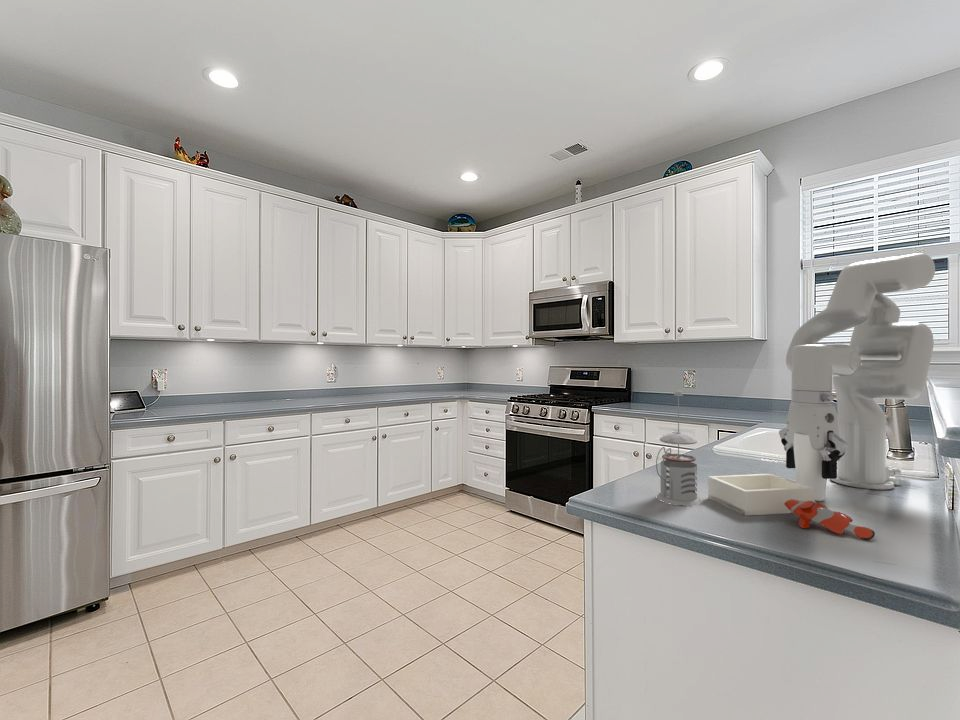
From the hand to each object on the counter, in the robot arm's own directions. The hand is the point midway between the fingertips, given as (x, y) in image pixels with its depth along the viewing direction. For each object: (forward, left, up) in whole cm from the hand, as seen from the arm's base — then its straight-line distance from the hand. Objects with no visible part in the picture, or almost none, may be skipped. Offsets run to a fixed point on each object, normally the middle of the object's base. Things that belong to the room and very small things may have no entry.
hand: (810, 472), depth 105 cm
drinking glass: (0, 0, -6) cm, 6 cm away
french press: (+31, -4, -6) cm, 31 cm away
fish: (+13, +16, -7) cm, 22 cm away
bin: (+15, +2, -6) cm, 16 cm away
